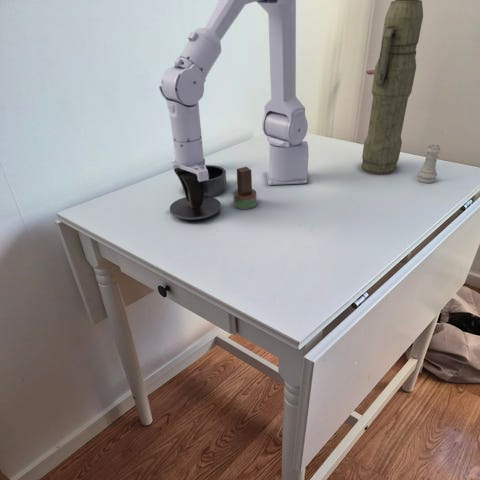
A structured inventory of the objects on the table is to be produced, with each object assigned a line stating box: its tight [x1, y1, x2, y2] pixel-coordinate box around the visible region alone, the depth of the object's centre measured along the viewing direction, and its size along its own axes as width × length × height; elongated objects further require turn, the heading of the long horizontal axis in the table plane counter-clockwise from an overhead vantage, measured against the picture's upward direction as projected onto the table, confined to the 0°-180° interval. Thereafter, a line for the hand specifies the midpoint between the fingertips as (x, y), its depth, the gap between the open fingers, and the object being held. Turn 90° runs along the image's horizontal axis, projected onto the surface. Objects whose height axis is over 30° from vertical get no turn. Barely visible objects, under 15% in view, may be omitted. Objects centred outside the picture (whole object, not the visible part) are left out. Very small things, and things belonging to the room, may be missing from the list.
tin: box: [204, 164, 228, 198], centre depth 102 cm, size 10×10×4 cm
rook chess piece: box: [416, 143, 442, 184], centre depth 99 cm, size 4×4×8 cm
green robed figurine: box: [360, 0, 424, 176], centre depth 98 cm, size 9×12×35 cm
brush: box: [232, 166, 258, 210], centre depth 93 cm, size 5×5×8 cm
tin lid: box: [169, 192, 222, 221], centre depth 92 cm, size 11×11×5 cm
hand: (194, 202), depth 92 cm, fingers closed on tin lid, 2 cm apart
